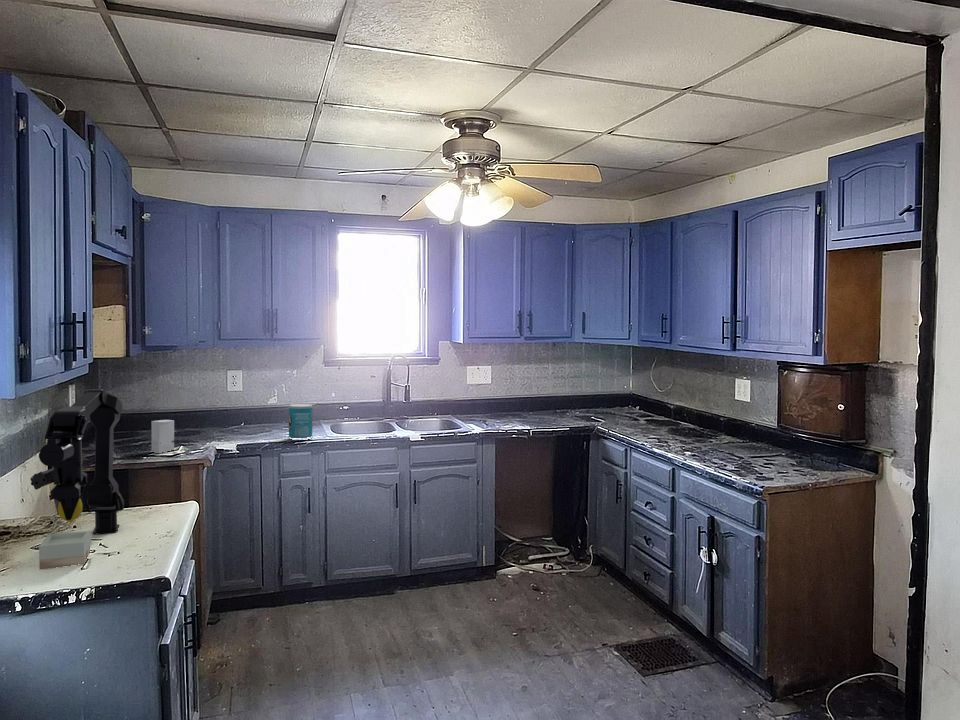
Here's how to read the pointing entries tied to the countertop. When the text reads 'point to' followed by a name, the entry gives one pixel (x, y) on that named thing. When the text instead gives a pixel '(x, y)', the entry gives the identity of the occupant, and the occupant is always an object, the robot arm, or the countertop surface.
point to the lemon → (76, 513)
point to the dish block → (65, 545)
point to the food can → (300, 420)
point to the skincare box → (162, 436)
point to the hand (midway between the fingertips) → (70, 516)
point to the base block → (63, 561)
